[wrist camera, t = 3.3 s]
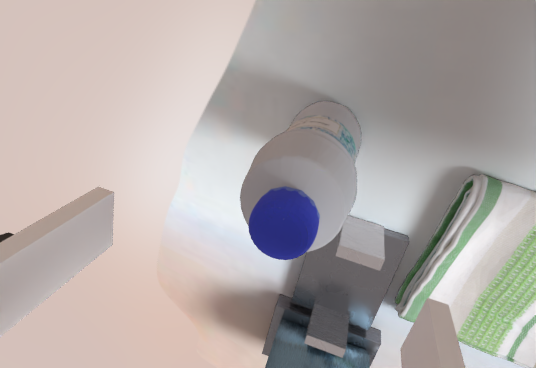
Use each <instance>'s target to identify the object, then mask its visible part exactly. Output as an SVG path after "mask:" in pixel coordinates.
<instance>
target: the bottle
mask: <svg viewBox="0 0 536 368" xmlns="http://www.w3.org/2000/svg"><path fill="white" fill-rule="evenodd" d="M360 144H361V129H360V126H359V123H358V121H357V119H356V118H355V116H354V115H353V113H352V112H351V111H350V109H348V108H347V107H345V106H344V105H340V104H337V103H334V102H328V101H320V102H316V103H314V104H312V105H310V106H308V107H306V108H305V109H303V110H302V111H301V112H300V113H299V114H298V115H297V116H296V117H295V119H294V120H293V122H292V124H291V125H290V127H289V128H288V129H287V130H286V132H283V133H281V134H279V135H278V136H276V137H274V138H273V139H272V140H271V141H269V142H268V143H267V144H265V145H264V146H263V147H262V148H261V149H260V150H259V152H258V153H257V155H256V156H255V158H254V160H253V163H252V165H251V168H250V170H249V172H248V173H247V175H246V177H245V179H244V182H243V184H242V189H241V195H240V200H241V209H242V212H243V216H244V218H245V220H246V222H247V224H248V226H249V233H250V235H251V239H252V240H253V242H254V244H255V245H256V246H257V248H258V249H259V250H261V251H262V252H263V253H264V254H266V255H268V256H270V257H272V258H276V259H279V260H280V259H283V260H288V259H293V258H297V257H299V256H301V255H303V254H304V253H305V252H309V251H313V250H316V249H319V248H321V247H323V246H325V245H326V244H328V243H329V242H330V241H332V240H333V239H334V238H335V237H336V235H337V234H338V233H339V231H340V229H341V228H342V226H343V224H344V222H345V220H346V218H347V215H348V214H349V212H350V211H351V209H352V207H353V205H354V202H355V199H356V194H357V173H356V169H355V159H356V157H357V154H358V152H359V148H360Z"/></svg>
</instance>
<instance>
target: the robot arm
mask: <svg viewBox="0 0 536 368" xmlns="http://www.w3.org/2000/svg"><path fill="white" fill-rule="evenodd" d="M113 206H114V192H112V191H109V190H106V189H103V188H101V187H97V188H95V189H93V190H91V191H90V192H88V193H86V194H85V195H83V196H81V197H79V198H77V199H76V200H74V201H72V202H70V203H69V204H67V205H65V206H64V207H62V208H60V209H58V210H56V211H55V212H53V213H51V214H49V215H48V216H46V217H44V218H42V219H41V220H39V221H37V222H36V223H34V224H32V225H30V226H28V227H27V228H25V229H23V230H21V231H20V232H18V233H16V234H11V233H6V234H3V235H0V337H1V336H2V335H3V334H5V333H6V332H7V331H8V330H9V329H10V328H12V327H13V326H14V325H16V324H17V323H18V322H19V321H20V320H22V319H23V318H24V317H25V316H27V315H28V314H29V313H30V312H31V311H33V310H34V309H35V308H36V307H37V306H39V305H40V304H41V303H42V302H43V301H45V300H46V299H47V298H48V297H49V296H51V295H52V294H53V293H54V292H56V291H57V290H58V289H59V288H61V287H62V286H63V285H64V284H65V283H67V282H68V281H69V280H70V279H71V278H73V277H74V276H75V275H76V274H77V273H79V272H80V271H81V270H82V269H84V268H85V267H86V266H87V265H88V264H90V263H91V262H92V261H93V260H95V258H97V257H98V256H99V255H101V254H102V253H103V252H104V251H105V250H107V249H108V248H109V247H110V246H112V241H113V239H112V238H113V208H114V207H113ZM401 361H402V368H465V365H464V361H463V357H462V353H461V350H460V346H459V342H458V338H457V335H456V331H455V327H454V323H453V320H452V316H451V312H450V308H449V305H448V304H445V303H442V302H439V301H436V300H433V299H430V298H427V300H426V301H425V303H424V305H423V307H422V309H421V311H420V313H419V315H418V317H417V319H416V321H415V322H414V324H413V326H412V328H411V330H410V332H409V334H408V336H407V338H406V340H405V342H404V343H403V345H402V347H401Z"/></svg>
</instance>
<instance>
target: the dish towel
mask: <svg viewBox="0 0 536 368" xmlns="http://www.w3.org/2000/svg"><path fill="white" fill-rule="evenodd" d="M427 298H430V299H433V300H436V301H439V302H442V303H445V304H448V305H449V308H450V312H451V316H452V320H453V323H454V327H455V331H456V335H457V338H458V341H460V342H462V343H464V344H466V345H468V346H470V347H472V348H475V349H477V350H480V351H482V352H485V353H488V354H490V355H493V356H496V357H500V358H503V359H505V360H508V361H511V362H513V363H515V364H518V365H520V366H523V367H525V368H536V192H534V191H530V190H527V189H524V188H522V187H519V186H517V185H514V184H510V183H507V182H503V181H499V180H497V179H494V178H492V177H489V176H486V175H483V174H481V175H479V176H476V175H472V176H470V177H469V178H468V179H467V180H466V181H465V182H464V183H463V185H462V187H461V188H460V190H459V192H458V193H457V195H456V197H455V199H454V200H453V201H452V203H451V204H450V206H449V208H448V210H447V212H446V214H445V215H444V217H443V219H442V220H441V223H440V224H439V226H438V228H437V230H436V231H435V233H434V235H433V236H432V238H431V239H430V242H429V244H428V245H427V247H426V248H425V250H424V251H423V253H422V255H421V256H420V258H419V260H418V261H417V263H416V265H415V266H414V268H413V269H412V270H411V271H410V272H409V274H408V275H407V277H406V279H405V281H404V283H403V284H402V286H401V287H400V289H399V291H398V294H397V296H396V297H395V303H396V304H398V305H397V306H396V307H395V310H396V311H398V316H399V317H400V318H403V319H405V320H407V321H410V322H415V321H416V319H417V317H418V315H419V313H420V311H421V309H422V307H423V305H424V303H425V301H426V300H427Z"/></svg>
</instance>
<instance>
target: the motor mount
mask: <svg viewBox="0 0 536 368" xmlns="http://www.w3.org/2000/svg"><path fill="white" fill-rule="evenodd" d="M408 244H409V239H408V236H406V235H403V234H400V233H397V232H394V231H390V230H387V229H384V226H381V225H377V224H374V223H371V222H368V221H365V220H362V219H359V218H355V217H352V216H349V215H347V218H346V220H345V222H344V224H343V226H342V228H341V229H340V231H339V233H338V234H337V235H336V237H335V238H334V239H333V240H332V241H330V242H329V243H328V244H326V245H325V246H323V247H321V248H319V249H316V250H313V251H309V252H307V253H306V256H305V260H304V263H303V266H302V269H301V272H300V276H299V279H298V282H297V285H296V288H295V292H294V295H293V298H289V297H286V296H284V295H281V294H280V296H279V299H278V302H277V304H276V307H275V311H274V314H273V318H272V321H271V325H270V328H269V332H268V335H267V338H266V342H265V345H264V349H263V352H262V354H265V355H267V356H269V357H268V360H267V364H266V367H265V368H369V367H370V365H371V363H372V361H373V359H374V357H375V355H376V353H377V351H378V349H379V347H380V345H381V331H380V330H377V329H375V328H372V327H371V325H372V322H373V320H374V318H375V316H376V314H377V311H378V309H379V307H380V305H381V303H382V301H383V298H384V296H385V294H386V292H387V290H388V287H389V285H390V283H391V281H392V279H393V276H394V274H395V272H396V270H397V268H398V265H399V263H400V261H401V259H402V257H403V255H404V252H405V250H406V248H407V246H408Z"/></svg>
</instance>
